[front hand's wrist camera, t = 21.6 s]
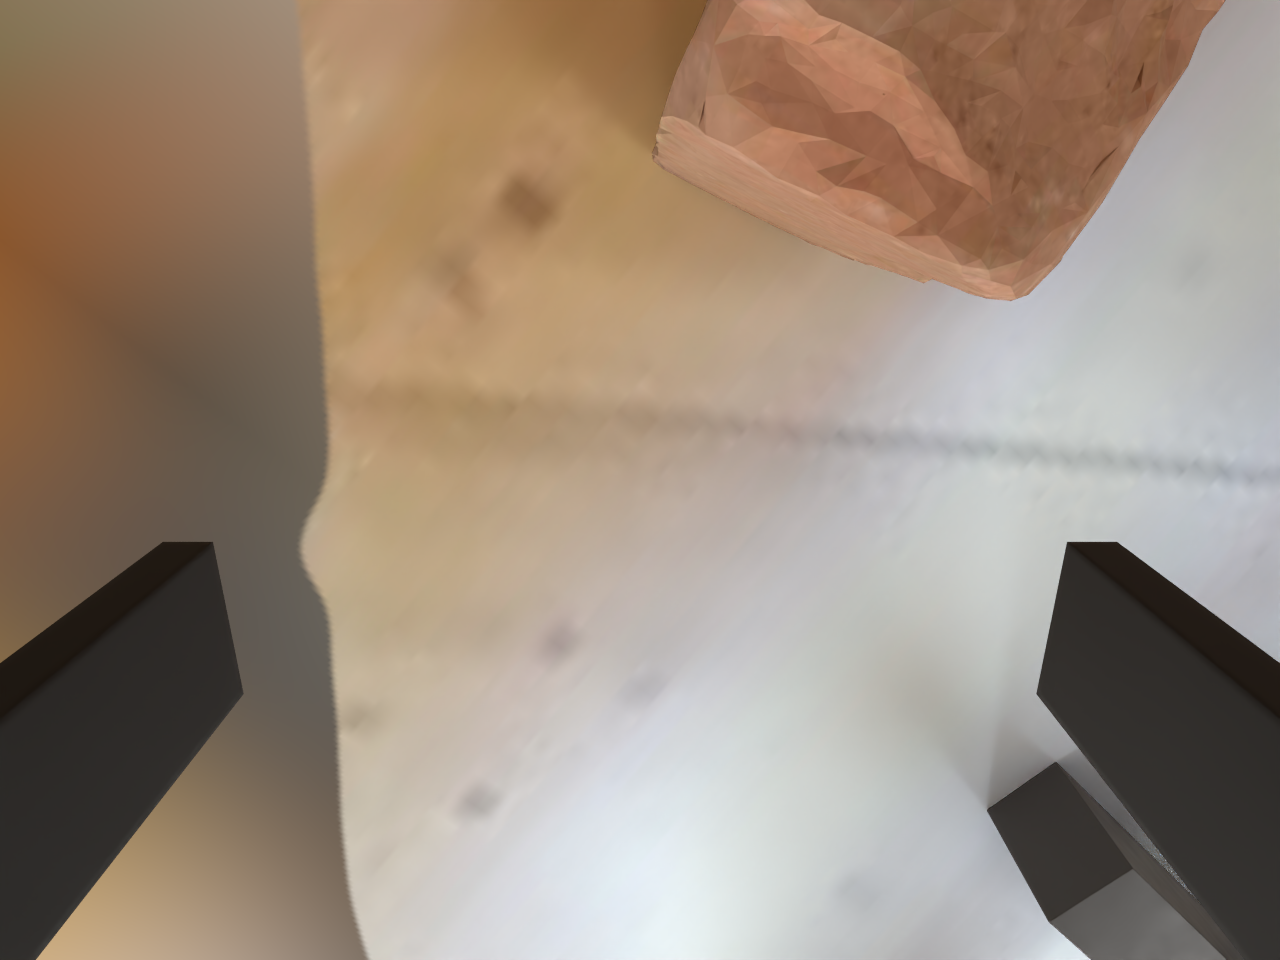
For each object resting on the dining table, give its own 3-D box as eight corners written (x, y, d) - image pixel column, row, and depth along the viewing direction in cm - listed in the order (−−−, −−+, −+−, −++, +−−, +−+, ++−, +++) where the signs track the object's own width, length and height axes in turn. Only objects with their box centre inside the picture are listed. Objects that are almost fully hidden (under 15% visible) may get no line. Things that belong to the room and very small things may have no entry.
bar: (986, 810, 56) (1048, 922, 48) (1056, 761, 55) (1133, 868, 46) (1195, 1003, 63) (1283, 1132, 54) (1262, 964, 61) (1363, 1091, 53)
